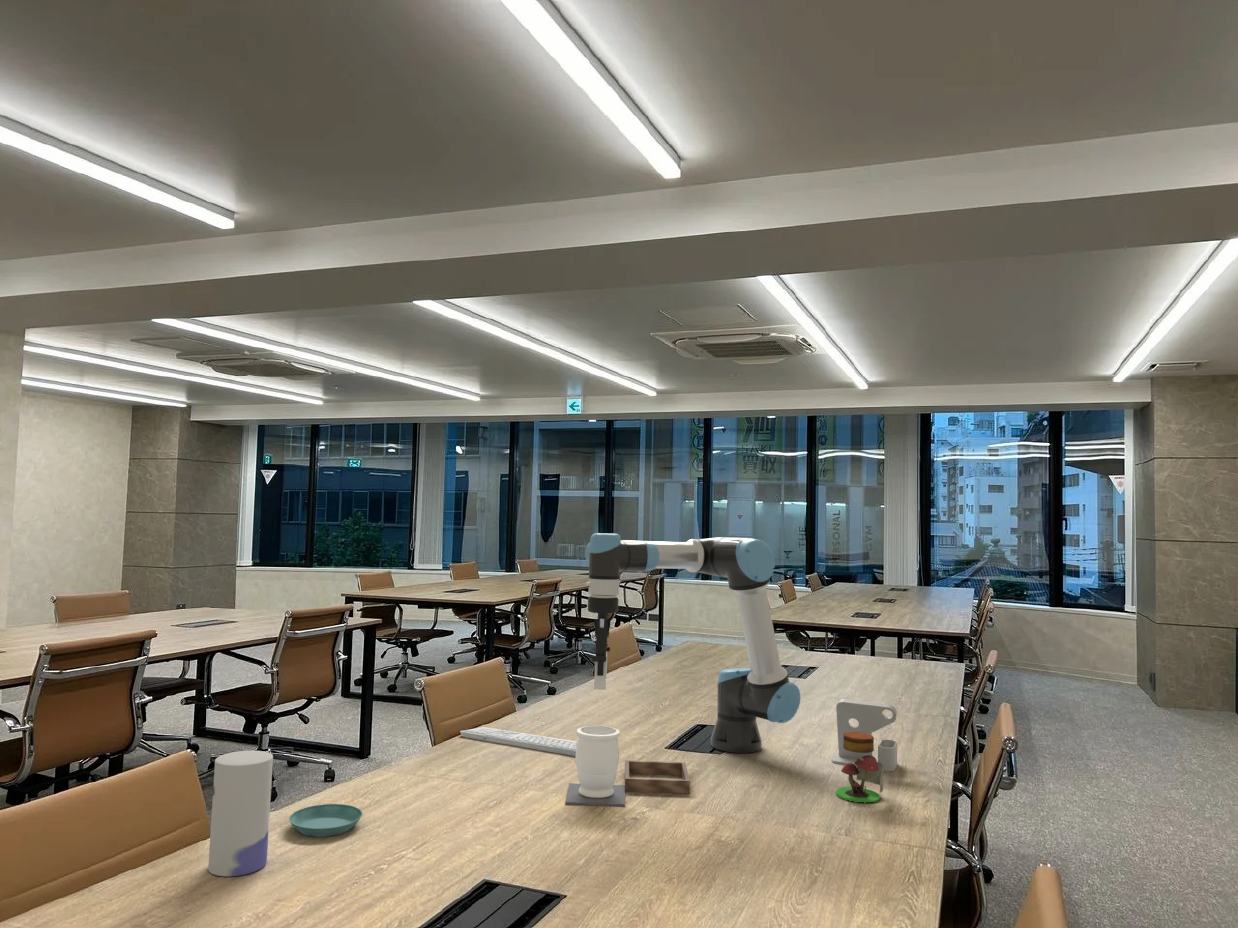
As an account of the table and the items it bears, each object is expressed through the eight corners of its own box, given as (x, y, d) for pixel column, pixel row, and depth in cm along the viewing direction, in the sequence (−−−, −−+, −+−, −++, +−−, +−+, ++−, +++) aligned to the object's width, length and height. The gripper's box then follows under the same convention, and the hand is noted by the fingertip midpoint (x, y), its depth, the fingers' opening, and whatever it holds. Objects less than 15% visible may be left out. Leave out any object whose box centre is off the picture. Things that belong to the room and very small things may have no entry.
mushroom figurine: (859, 808, 200) (860, 744, 201) (824, 792, 211) (825, 731, 212) (896, 801, 206) (896, 739, 207) (859, 786, 217) (860, 727, 218)
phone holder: (899, 763, 239) (899, 699, 240) (895, 772, 230) (895, 706, 231) (837, 754, 247) (838, 692, 248) (830, 763, 237) (831, 698, 239)
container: (220, 855, 161) (227, 749, 162) (273, 855, 162) (280, 749, 163) (199, 877, 151) (206, 764, 153) (256, 877, 152) (262, 764, 153)
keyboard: (608, 750, 245) (608, 742, 245) (588, 760, 234) (588, 752, 234) (482, 729, 264) (482, 721, 264) (458, 738, 253) (459, 730, 253)
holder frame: (684, 773, 223) (685, 762, 223) (689, 793, 207) (689, 780, 207) (624, 771, 223) (625, 760, 223) (624, 791, 207) (625, 778, 207)
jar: (621, 788, 207) (623, 726, 208) (613, 802, 197) (615, 737, 198) (580, 784, 209) (582, 723, 210) (569, 797, 199) (571, 733, 200)
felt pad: (624, 787, 210) (624, 785, 210) (624, 806, 196) (625, 804, 196) (569, 785, 210) (569, 783, 210) (565, 804, 196) (565, 801, 196)
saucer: (319, 846, 167) (320, 833, 168) (273, 830, 175) (273, 817, 175) (376, 825, 180) (377, 812, 180) (330, 810, 188) (331, 798, 188)
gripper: (590, 591, 219) (587, 673, 218) (585, 600, 194) (582, 693, 193) (618, 592, 219) (616, 674, 217) (618, 601, 194) (615, 694, 193)
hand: (600, 683), depth 205 cm, fingers open, 13 cm apart
